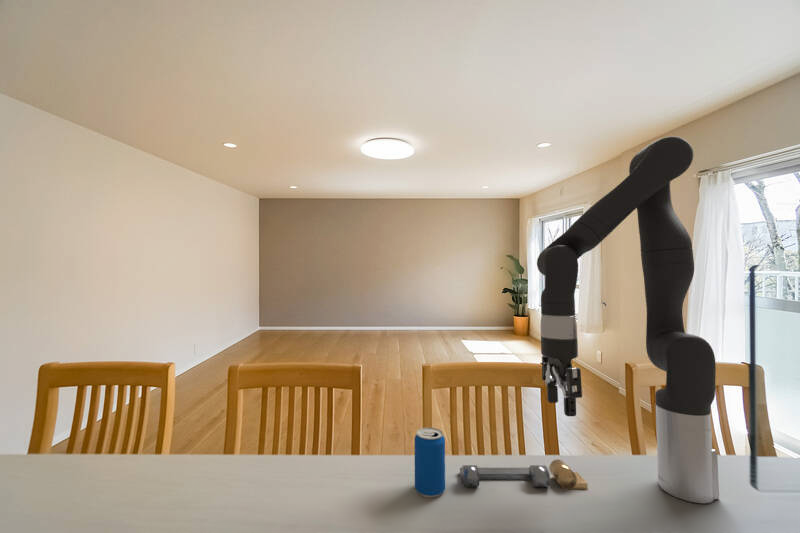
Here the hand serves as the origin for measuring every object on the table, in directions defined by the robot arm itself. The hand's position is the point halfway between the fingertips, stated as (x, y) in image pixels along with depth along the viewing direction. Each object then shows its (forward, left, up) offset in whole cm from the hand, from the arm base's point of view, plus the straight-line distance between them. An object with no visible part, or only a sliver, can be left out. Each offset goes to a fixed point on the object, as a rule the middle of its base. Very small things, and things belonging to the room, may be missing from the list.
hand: (560, 408), depth 78 cm
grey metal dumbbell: (+13, -1, -16) cm, 21 cm away
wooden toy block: (-1, 0, -16) cm, 16 cm away
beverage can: (+29, +3, -16) cm, 34 cm away
